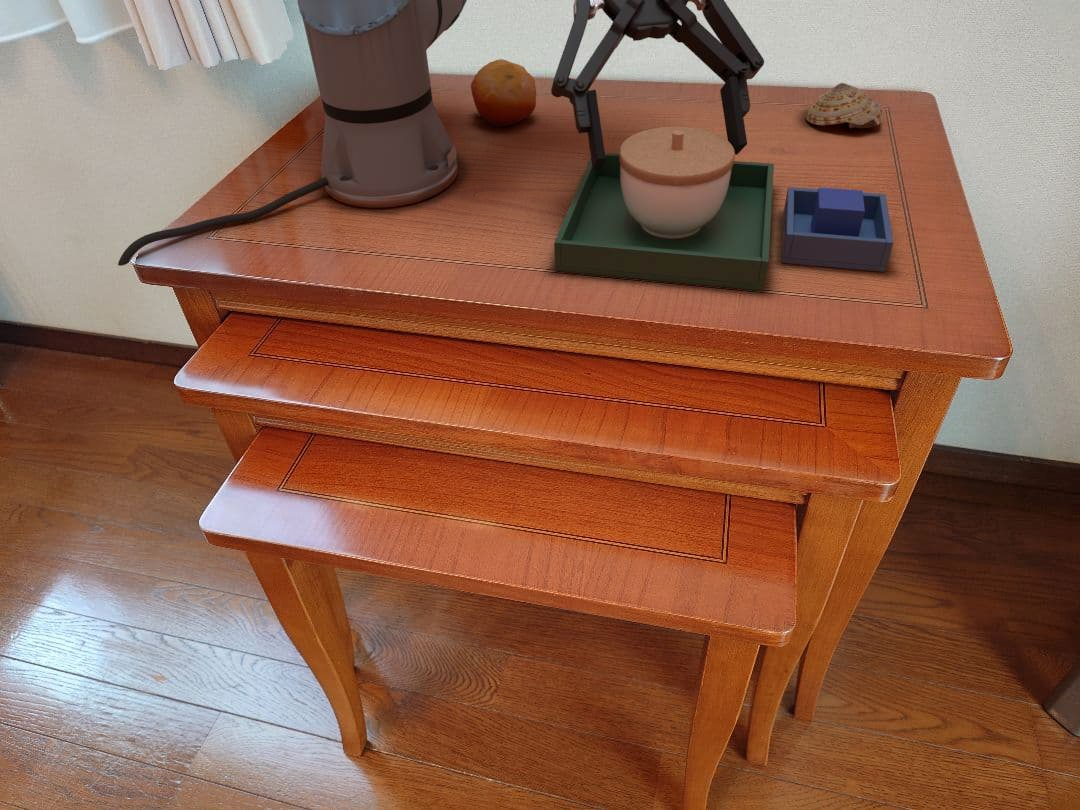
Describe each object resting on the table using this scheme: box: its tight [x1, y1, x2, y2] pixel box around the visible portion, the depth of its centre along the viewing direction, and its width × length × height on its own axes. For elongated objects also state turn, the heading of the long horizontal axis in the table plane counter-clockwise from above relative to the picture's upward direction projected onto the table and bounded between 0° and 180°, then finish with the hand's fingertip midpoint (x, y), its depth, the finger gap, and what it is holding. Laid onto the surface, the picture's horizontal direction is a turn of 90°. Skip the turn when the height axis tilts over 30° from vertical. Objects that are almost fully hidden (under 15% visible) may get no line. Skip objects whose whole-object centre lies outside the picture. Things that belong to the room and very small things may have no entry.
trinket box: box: [618, 126, 736, 239], centre depth 77 cm, size 11×11×9 cm
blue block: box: [811, 187, 865, 237], centre depth 76 cm, size 4×4×4 cm
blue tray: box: [781, 186, 894, 273], centre depth 76 cm, size 9×9×3 cm
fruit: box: [470, 58, 537, 128], centre depth 100 cm, size 8×8×8 cm
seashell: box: [805, 82, 884, 129], centre depth 97 cm, size 8×6×8 cm
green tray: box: [553, 152, 775, 292], centre depth 80 cm, size 19×19×3 cm
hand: (669, 157), depth 76 cm, fingers open, 13 cm apart
